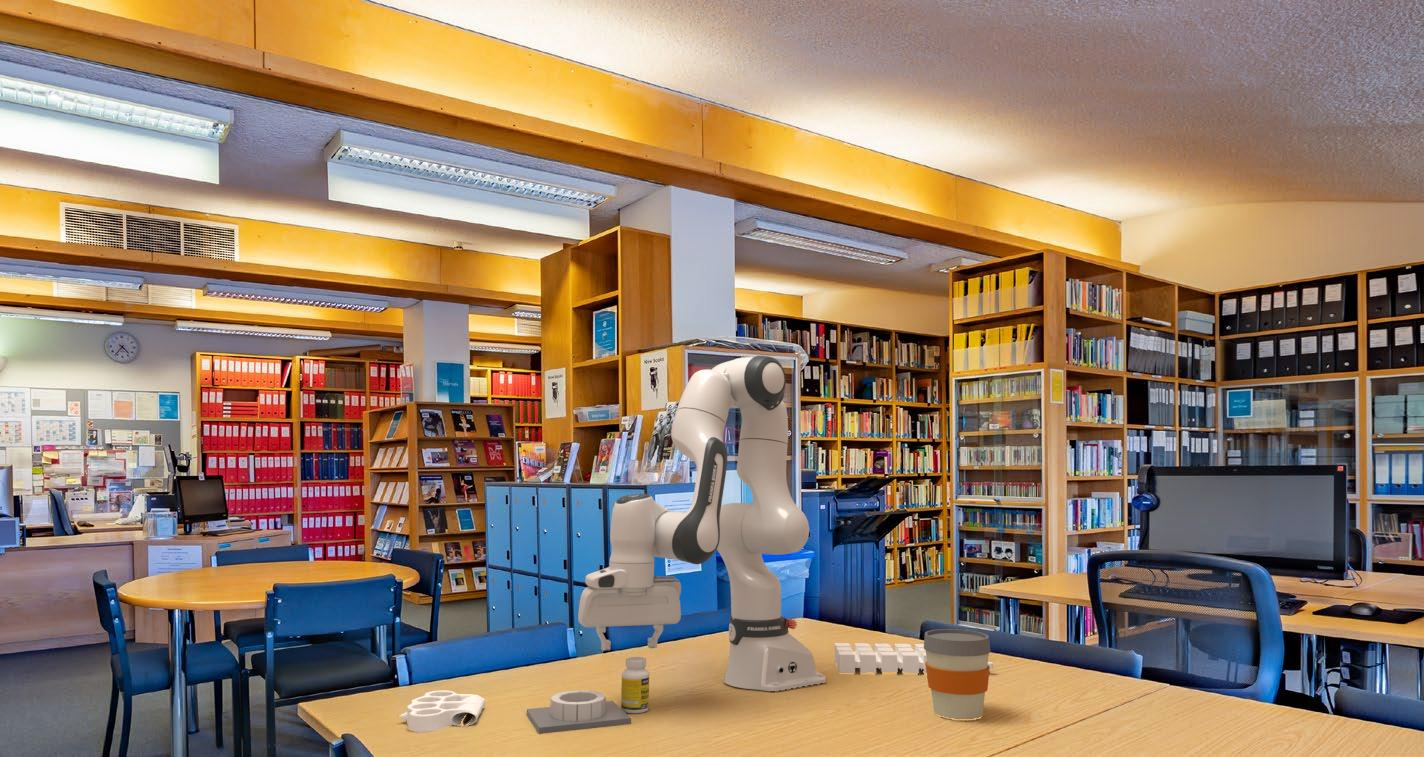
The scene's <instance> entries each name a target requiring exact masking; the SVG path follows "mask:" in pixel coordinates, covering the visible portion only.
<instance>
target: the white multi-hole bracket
mask: <svg viewBox="0 0 1424 757" xmlns="http://www.w3.org/2000/svg"><path fill="white" fill-rule="evenodd" d="M485 703H486V698H483V697H482V696H480V695H478V694H471V693H456V692H455V691H452V690H433V691H427V692H425V693H424V695H421V696H419V697H416V698H413V699H412V700H411V701H410V704H408V705H407V706H406V707H405V709H406V711H405V712H404V713H402V714H400V715H398V716H397V717H398V718H400V719H402V720H405V721H406V725H408V724H409V725H408V731H409V730H411V731H410V732H412V731H415V732H414V733H430V732H429V731H432V732H436V730H437V731H440V730H442V729H444V728H447V726H449V727H452V726H451V725H457V726H456V727H461V726H460V724H461V721H462V719H463V718H464V716H465V715H466V714H467V715H468V714H471V715H472V716H473V715H474V716H473V718H472V720H471V721H470V720H469V721H470V723H469V724H468V725H467V726H466V727H469V725H470V726H472V725H473V724H475V723H477V722H478V719H479V717H480V715H482V714H481V713H482V710H483V709H484V707H485V706H486V704H485ZM467 715H466V716H467ZM443 727H444V728H443ZM441 728H442V729H441ZM439 729H440V730H439Z"/></svg>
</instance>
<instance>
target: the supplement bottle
mask: <svg viewBox="0 0 1424 757" xmlns="http://www.w3.org/2000/svg"><path fill="white" fill-rule="evenodd" d="M646 666H647V658H645V657H643V656H630V657H627V658H626V659H625V667H626V669H624V670H623V671H622V674H621V688H620V689H621V691H620V692H621V694H620V697H621V698H620V708H621V709H622V710H623V711H624V712H625V713H626V714H627V713H628V714H642V713H645V712H647V711H648V710H649V708H650V707H649V706H650V703H649V702H650V701H649V700H650V673H649V670H648V669H646Z"/></svg>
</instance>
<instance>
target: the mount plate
mask: <svg viewBox="0 0 1424 757" xmlns="http://www.w3.org/2000/svg"><path fill="white" fill-rule="evenodd" d="M526 716H527V717H528V718H529V721H531V723H532V725H533V726H534V728H535V729H536V731H537V733H538V734H546V733H547V734H549V733H557V732H565V731H566V732H567V731H574V730H575V731H576V730H584V729H593V728H594V729H595V728H603V727H611V726H613V727H614V726H624V725H629V724H632V717H631V716H630V715H629V714H627V713H626V712H624V711H623V710H622V709H621V706H619V705H618V704H617V703H616V702H615V701H614V700H606V695H605V694H604V693H602V692H599V691H595V690H593V691H592V690H585V689H584V690H583V689H582V690H569V691H568V690H567V691H563V692H559V693H556V694H553V695H552V696H551V697H550V706H543V707H537V708H536V707H534V708H526Z"/></svg>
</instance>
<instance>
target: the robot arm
mask: <svg viewBox="0 0 1424 757" xmlns="http://www.w3.org/2000/svg"><path fill="white" fill-rule="evenodd" d="M786 378H787V377H786V373H785V370H784V368H783V366H782V364H781V362H780V361H779V360H778V359H776V358H775V357H771V356H769V355H756V356H746V357H739V358H735V359H732V360H728V361H724V362H718V363H715V364H713V365H711V366H709V367H708V368H707V369H700V370H698V371H696V372H694V374H692V376H690V379H689V381H688V382H687V384H686V386H685V388H684V390H683V392H682V395H681V397H680V400H679V402H678V405H677V407H676V410H675V414H674V416H673V420H672V424H671V431H670V432H671V433H670V438H671V440H672V442H673V444H674V447H675V448H676V449H677V450H678V452H679V453H680V454H681V455H683V456H684V457H686V458H688V459H690V460H691V461H693V462H694V465H695V466H696V478H695V482H694V483H695V484H694V489H693V490H694V492H693V497H692V502H691V506H690V507H689V509H688V510H686V511H675V510H669V509H668V508H666V507H663V506H662V505H660V504H659V503H658V502H657V501H655V500H654V498H653V496H652V495H651V494H647V493H635V494H627V495H624V496H621V497H619V498H618V499H616V501H615V502H614V506H613V507H612V513H611V519H610V520H611V521H610V533H609V537H610V538H609V540H610V544H611V552H610V553H611V554H610V557H609V566H608V567H606V568H603V569H600V570H597V571H594V572H591V573H588V574H587V575H585V579H584V581H585V585H586V586H587V587H585V588H584V589H583V591H582V592H581V595H580V599H579V605H578V615H577V616H578V617H577V620H578V623H579V624H580V625H581V626H583V627H584V628H595V632H596V634H597V636H598V638H599V640H600V642H601V643H600V644H601V646H600V648H601V651H605V652H606V651H611V648H612V647H611V645H612V644H611V643H612V641H611V640H610V639H607V638H606V636H605V634H604V633H606V632H607V631H606V630H607V628H609V627H625V626H626V627H627V626H629V627H631V626H652V627H653V629H654V633H653V634H652V636H651V637H647V648H649V649H657V648H658V639H660V637H661V635H662V633H663V632H664V625H674V624H675V625H676V624H678V623H679V622H680V620H681V619H682V617H681V616H682V614H681V613H682V609H681V600H680V597H681V593H682V585H681V582H680V580H679V579H678V578H676V577H675V576H674V575H673V576H672V575H668V576H662V575H661V576H658V575H655V558H662V559H666V560H667V559H668V560H674V561H675V560H676V561H681V562H686V563H689V564H692V565H693V564H694V565H701V564H705V563H706V562H707V561H709V560H710V559H711V558H712V557H713V555H714V554H715V553H716V552H718V553H719V554H720V556H721V559H722V560H723V562H724V565H725V568H726V571H727V574H728V578H729V585H730V603H731V604H730V606H731V607H730V609H731V610H730V612H731V613H730V614H731V615H730V616H729V622H728V624H729V625H728V638H729V644H730V645H729V654H728V660H727V661H728V662H727V667H726V672H725V675H724V678H723V682H724V683H725V684H726V685H728V686H731V687H734V688H739V689H747V690H759V691H764V692H765V691H766V692H770V691H775V692H780V691H779V690H781V691H786V690H785V689H787V690H792V689H791V688H793V689H797V688H796V687H799V688H803V687H802V686H805V687H808V686H807V685H811V686H814V685H813V684H817V685H821V684H820V683H823V684H826V683H827V677H826V676H825V675H824V674H823V673H822V672H820V671H818V670H817V669H816V663H815V658H814V654H813V653H812V651H811V650H810V649H809V648H808V647H807V646H805V645H804V644H803V643H802V642H800V641H799V640H798V639H797V638H795V636H793V635H792V634H790V633H789V629H790V630H795V629H796V628H797V627H798V621H796V620H795V619H792V618H788V619H787V617H784V616H783V615H782V585H781V582H780V579H779V578H778V576H777V575H776V573H774V572H772V571H771V570H770V569H769V568H768V567H767V565H766V563H765V562H764V559H763V556H762V554H764V555H773V556H774V555H776V556H780V555H788V554H789V555H790V554H793V553H794V554H795V553H798V552H800V551H802V549H803V548H804V546H805V545H806V543H807V542H808V539H809V536H810V535H809V534H810V526H809V525H810V524H809V521H808V519H807V518H808V517H807V516H806V515H805V513H804V512H803V511H802V510H801V508H800V507H799V506H798V505H797V504H796V503H795V501H794V500H793V497H792V496H791V493H790V490H789V486H788V480H787V458H788V444H789V422H788V421H789V419H788V411H787V406H786V403H785V402H784V397H785V391H786V385H787V383H786V382H787V379H786ZM730 409H739V410H740V413H741V419H742V421H741V422H742V423H741V429H740V434H739V441H738V442H739V444H738V454H737V462H736V474H737V476H738V478H739V479H740V480H741V481H742V482H743V483H744V484H745V485H746V486H749V488H750V491H751V494H752V503H747V502H731V503H725V504H722V502H723V497H724V489H725V484H726V483H725V481H726V477H727V476H726V475H727V469H728V467H727V466H728V450H727V447H726V446H727V445H726V444H725V443H724V432H725V428H726V424H727V420H728V417H729V412H730ZM825 682H826V683H825Z"/></svg>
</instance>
